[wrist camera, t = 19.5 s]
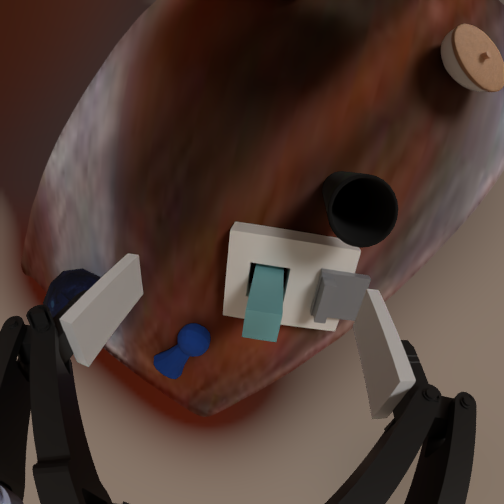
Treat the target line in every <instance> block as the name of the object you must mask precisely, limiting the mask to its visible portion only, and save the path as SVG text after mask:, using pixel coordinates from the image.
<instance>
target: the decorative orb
mask: <svg viewBox="0 0 504 504" xmlns="http://www.w3.org/2000/svg"><path fill="white" fill-rule="evenodd" d="M100 278H101V277H99V276H97V275H95V274H93V273H90V272H88V271H86V270H84V269H76V270H69V271H63V272H62V273H61V274H60V275H59V276H58V277H57V278H55V279H54V280H53V281H52V282H51V284H50V286H49V289H48V291H47V294H46V296H45V299H44V302H43V305H46V306H47V307H49V309H50V312H51V315H52V317H54V316H55V315H56V314H57V313H58V312H59V311H60V310H61V309H62V308H63V307H64V306H65V305H67V303H68V302H69V301H71V299H72V298H73V297H74V296H76V295H77V294H78V293H80V292H82V291H84V290H89V289H90V288H91V287H92V286H93V285H94V284H95V283H96V282H97V281H98V280H99V279H100Z"/></svg>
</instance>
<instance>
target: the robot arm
mask: <svg viewBox="0 0 504 504" xmlns="http://www.w3.org/2000/svg"><path fill="white" fill-rule="evenodd" d="M142 295H143V288H142V280H141V271H140V262H139V255H135V254H130V253H128V254H127V255H126V256H124V257H123V258H122V259H121V260H120V261H119V262H118V263H117V264H116V265H114V266H113V267H112V268H111V269H110V270H109V271H108V272H107V273H106V274H105V275H104V276H102V277H101V278H100V279H99V280H98V281H97V282H96V283H95V284H94V285H93V286H92V287H91V288H90V289H89V290H84V291H82V292H80V293H78V294H77V295H76V296H74V297H73V298H72V299H71V301H69V302H68V303H67V305H65V306H64V307H63V308H62V309H61V310H60V311H59V312H58V313H57V314H56V315H55V316H54V317H52V315H51V312H50V309H49V307H47V306H46V305H37V306H35V307H33V308H31V309H30V310H29V311H28V312H27V315H26V316H27V319H28V321H29V323H30V325H25V324H24V322H23V319H22V318H21V317H19V316H13V317H10V318H9V319H7V320H6V321H5V323H4V324H3V327H2V329H1V331H0V504H23V502H22V501H23V497H24V489H25V461H26V445H27V434H28V425H29V417H30V411H31V414H32V425H33V433H34V441H35V447H36V453H37V460H38V461H37V463H36V464H35V465H33V476H34V480H35V484H36V488H37V492H38V496H39V500H40V503H41V504H114V503H112V501H111V499H110V497H109V495H108V493H107V491H106V490H105V488H104V487H103V485H102V484H101V482H100V480H99V477H98V475H97V472H96V469H95V466H94V463H93V460H92V457H91V453H90V450H89V447H88V443H87V439H86V436H85V432H84V428H83V424H82V420H81V415H80V410H79V405H78V400H77V395H76V389H75V383H74V376H73V369H72V362H71V360H70V357H71V356H72V355H73V354H74V356H75V359H76V360H77V362H78V363H80V364H83V365H85V366H87V367H89V366H90V365H91V363H92V362H93V360H94V359H95V357H96V356H97V355H98V353H99V352H100V350H101V349H102V348H103V346H104V345H105V344H106V342H107V341H108V339H109V338H110V337H111V335H112V334H113V333H114V331H115V330H116V329H117V327H118V326H119V325H120V323H121V322H122V321H123V319H124V318H125V317H126V316H127V314H128V313H129V312H130V310H131V309H132V308H133V306H134V305H135V304H136V303H137V301H138V300H139V299H140V297H141V296H142ZM353 330H354V334H355V338H356V342H357V346H358V350H359V355H360V360H361V364H362V369H363V373H364V378H365V383H366V388H367V393H368V398H369V404H370V409H371V415H372V419H381V418H387V417H388V416H389V415H390V414H391V413H392V411H393V414H394V419H393V420H392V421H391V422H390V423H389V424H388V426H387V427H386V428H385V429H384V430H385V432H384V433H383V434H382V436H381V437H380V439H379V440H378V442H377V443H376V444H375V446H374V447H373V448H372V450H371V451H370V452H369V454H368V455H367V457H366V458H365V459H364V460H363V461H362V463H361V464H360V465H359V466H358V468H357V469H356V470H355V471H354V472H353V474H352V475H351V476H350V477H349V478H348V479H347V481H346V482H345V483H344V484H343V485H342V486H341V487H340V488H339V489H338V491H337V492H336V493H335V494H334V495H333V496H332V497H331V498H330V499H329V500H328V501H327V502H326V503H325V504H385V503H386V502H387V501H388V499H389V498H390V496H391V495H392V493H393V492H394V491H395V489H396V488H397V486H398V485H399V483H400V482H401V480H402V478H403V477H404V475H405V474H406V472H407V470H408V469H409V467H410V465H411V463H412V462H413V460H414V458H415V456H416V455H417V453H418V451H419V449H420V447H421V445H422V449H421V452H420V456H419V460H418V464H417V467H416V471H415V474H414V477H413V480H412V484H411V487H410V489H409V492H408V495H407V498H406V501H405V503H404V504H465V502H466V497H467V493H468V488H469V483H470V477H471V471H472V464H473V456H474V446H475V433H476V401H475V400H474V398H473V397H472V396H471V395H470V394H468V393H466V392H461V393H459V394H458V395H457V396H456V397H455V398H449V397H444V396H441V393H440V391H439V390H438V389H437V388H436V387H434V386H433V385H430V384H428V381H427V379H426V376H425V373H424V371H423V368H422V366H421V364H420V363H419V362H420V361H419V359H418V357H417V354H416V351H415V349H414V347H413V346H412V345H411V344H410V343H409V341H407V340H400V337H399V335H398V333H397V330H396V328H395V325H394V323H393V321H392V319H391V316H390V314H389V312H388V309H387V307H386V305H385V303H384V301H383V298H382V296H381V294H380V292H379V290H373V289H366V292H365V295H364V298H363V301H362V303H361V306H360V309H359V311H358V314H357V317H356V319H355V322H354V324H353ZM17 356H18V360H17ZM16 360H17V361H16ZM422 443H423V444H422ZM123 504H129V503H126V502H123Z"/></svg>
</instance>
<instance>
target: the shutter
mask: <svg viewBox="0 0 504 504" xmlns="http://www.w3.org/2000/svg"><path fill="white" fill-rule="evenodd" d="M370 280H371V279H370V277H369V275H362V274H356V273H349V272H342V271H336V270H329V269H323V268H321V272H320V276H319V280H318V284H317V287H316V291H315V295H314V298H313V302H312V306H311V309H310V315H311V316H313V317H314V322H316V323H324V324H325V322H326V319H327V318H336V319H344V320H354V321H355V319H356V317H357V314H358V311H359V309H360V306H361V303H362V301H363V298H364V295H365V292H366V289H368V286H369V283H370Z"/></svg>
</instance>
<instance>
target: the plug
mask: <svg viewBox="0 0 504 504" xmlns="http://www.w3.org/2000/svg"><path fill="white" fill-rule="evenodd" d="M283 280H284V267H277V266H271V265H265V264H258V263H256V267H255V271H254V276H253V280H252V284H251V289H250V293H249V297H248V302H247V306H246V311H245V318H244V326H243V333H242V337H246V338H253V339H259V340H265V341H272V342H276V341H277V337H278V333H279V328H280V324H281V320H282V315H283Z"/></svg>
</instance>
